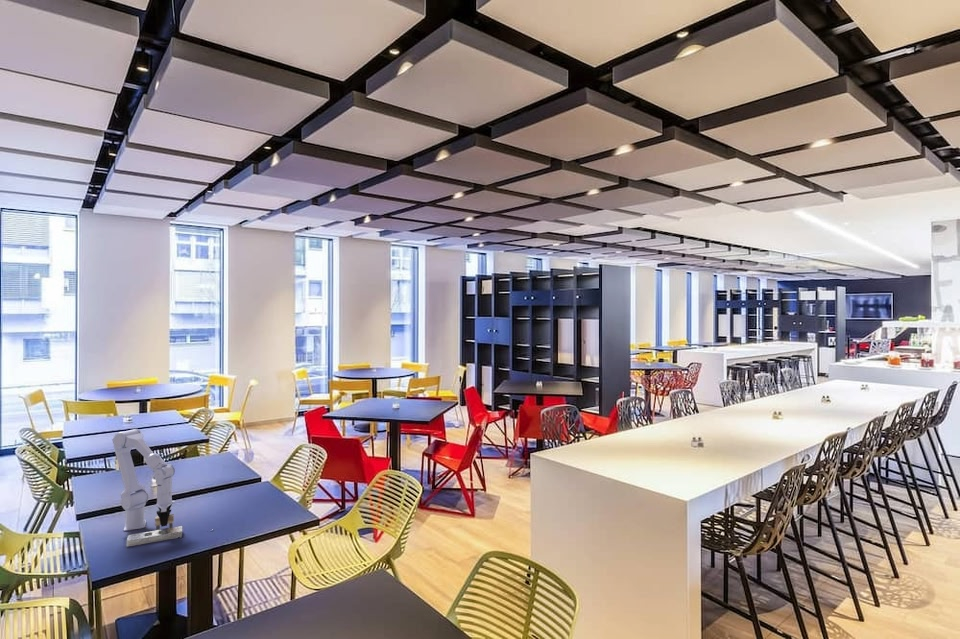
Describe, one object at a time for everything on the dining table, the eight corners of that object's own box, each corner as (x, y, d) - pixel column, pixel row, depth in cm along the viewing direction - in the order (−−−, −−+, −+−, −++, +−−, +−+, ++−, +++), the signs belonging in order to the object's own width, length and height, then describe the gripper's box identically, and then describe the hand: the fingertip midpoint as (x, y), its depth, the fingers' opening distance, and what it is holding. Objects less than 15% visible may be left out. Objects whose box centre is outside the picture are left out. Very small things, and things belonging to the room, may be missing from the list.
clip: (155, 530, 235) (155, 516, 235) (173, 527, 238) (173, 514, 238) (155, 532, 232) (155, 519, 232) (173, 529, 236) (173, 516, 236)
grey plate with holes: (128, 540, 223) (128, 535, 223) (182, 531, 233) (182, 525, 233) (126, 546, 217) (126, 540, 217) (181, 537, 227) (181, 531, 227)
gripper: (174, 495, 231) (174, 526, 231) (175, 487, 244) (175, 516, 243) (155, 498, 228) (155, 529, 227) (157, 489, 240) (157, 519, 240)
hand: (164, 523), depth 235 cm, fingers open, 7 cm apart
